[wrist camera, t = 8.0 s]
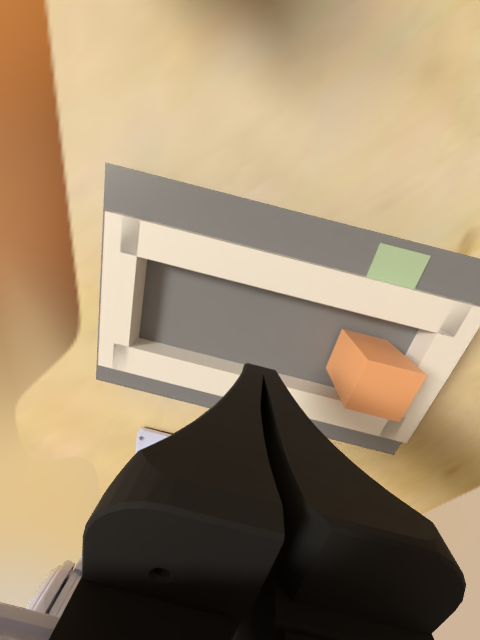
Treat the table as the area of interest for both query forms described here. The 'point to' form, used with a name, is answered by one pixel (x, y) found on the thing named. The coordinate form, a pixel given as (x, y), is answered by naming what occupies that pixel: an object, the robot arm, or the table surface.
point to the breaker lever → (373, 375)
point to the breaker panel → (268, 300)
